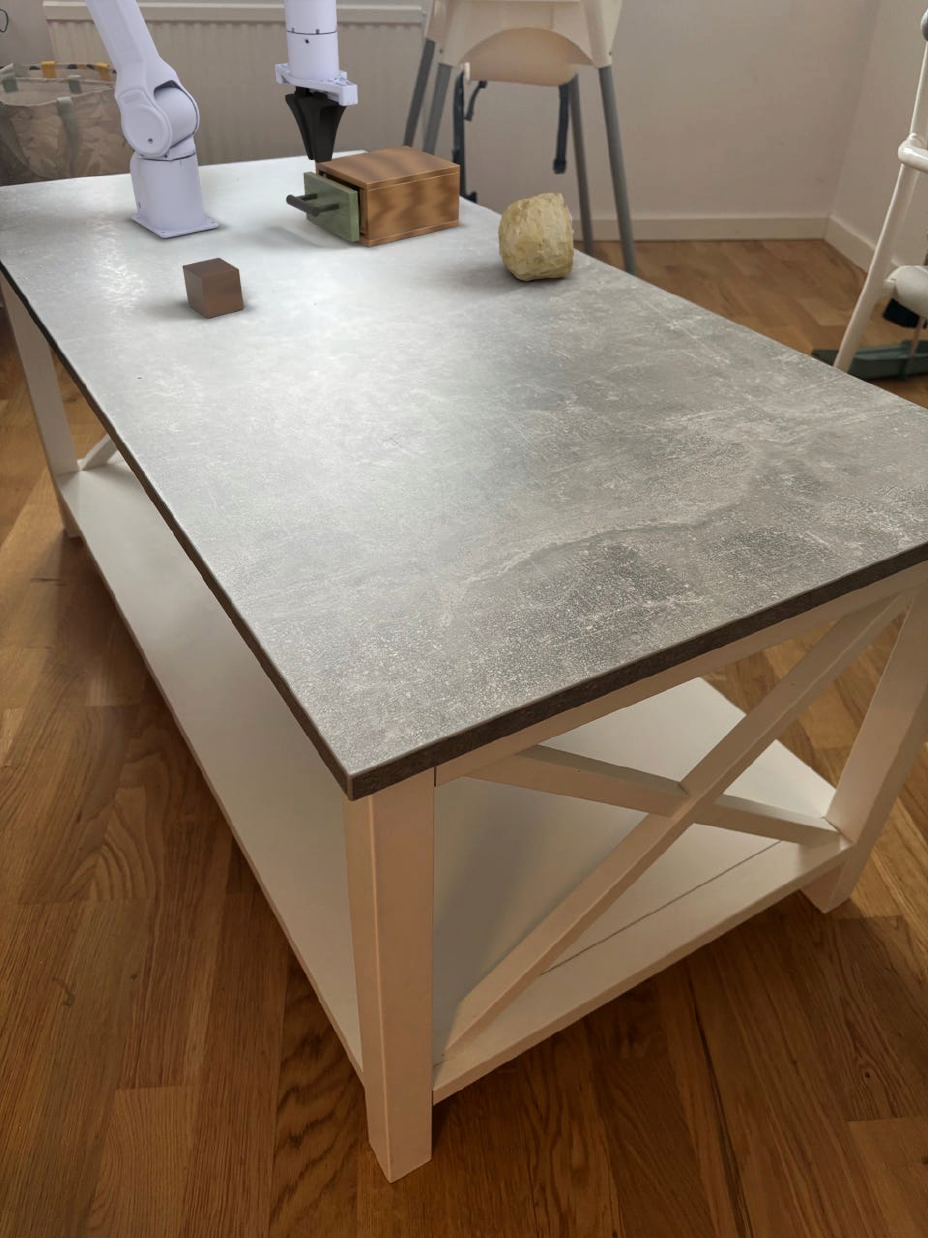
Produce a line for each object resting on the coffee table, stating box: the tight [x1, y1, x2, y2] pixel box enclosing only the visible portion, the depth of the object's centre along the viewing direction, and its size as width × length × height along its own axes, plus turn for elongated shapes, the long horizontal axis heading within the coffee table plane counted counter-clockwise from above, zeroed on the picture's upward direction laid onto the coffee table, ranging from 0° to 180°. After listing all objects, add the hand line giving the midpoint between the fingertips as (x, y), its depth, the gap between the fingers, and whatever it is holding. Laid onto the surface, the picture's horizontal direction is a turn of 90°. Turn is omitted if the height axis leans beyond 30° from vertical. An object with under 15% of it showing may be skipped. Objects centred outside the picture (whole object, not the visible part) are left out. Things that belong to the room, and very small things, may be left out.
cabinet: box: [314, 145, 461, 248], centre depth 125 cm, size 15×12×8 cm
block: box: [182, 257, 245, 319], centre depth 103 cm, size 4×4×4 cm
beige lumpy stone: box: [497, 192, 575, 282], centre depth 112 cm, size 10×10×10 cm
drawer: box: [285, 171, 365, 243], centre depth 123 cm, size 18×10×6 cm, turn 129°
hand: (320, 159), depth 117 cm, fingers closed
